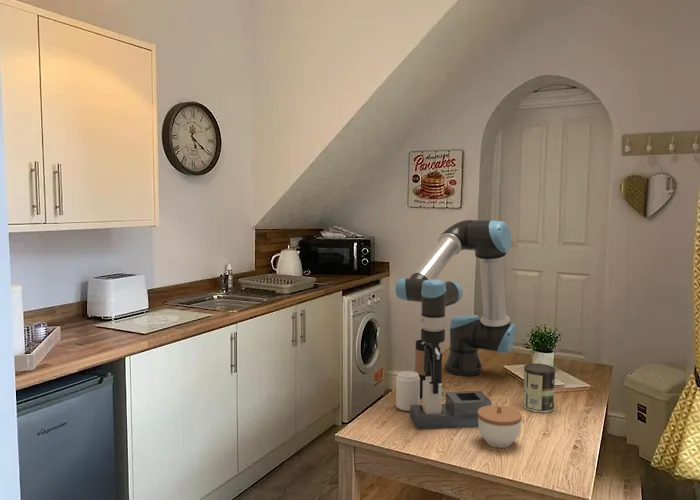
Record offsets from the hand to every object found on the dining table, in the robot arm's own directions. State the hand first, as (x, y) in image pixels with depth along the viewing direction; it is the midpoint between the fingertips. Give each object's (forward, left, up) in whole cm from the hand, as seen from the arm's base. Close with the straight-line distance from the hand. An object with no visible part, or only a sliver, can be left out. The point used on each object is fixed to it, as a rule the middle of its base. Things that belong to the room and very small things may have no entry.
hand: (432, 399), depth 178 cm
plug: (0, 0, -6) cm, 6 cm away
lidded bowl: (+17, +16, -8) cm, 24 cm away
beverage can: (-13, -5, -8) cm, 16 cm away
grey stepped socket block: (0, +6, -8) cm, 10 cm away
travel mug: (-24, +4, -8) cm, 26 cm away
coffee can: (-8, +40, -8) cm, 42 cm away
